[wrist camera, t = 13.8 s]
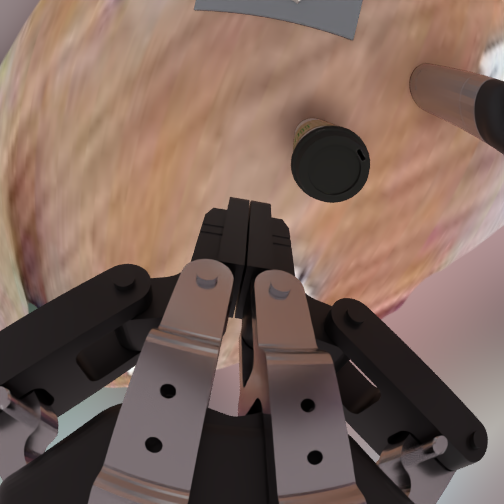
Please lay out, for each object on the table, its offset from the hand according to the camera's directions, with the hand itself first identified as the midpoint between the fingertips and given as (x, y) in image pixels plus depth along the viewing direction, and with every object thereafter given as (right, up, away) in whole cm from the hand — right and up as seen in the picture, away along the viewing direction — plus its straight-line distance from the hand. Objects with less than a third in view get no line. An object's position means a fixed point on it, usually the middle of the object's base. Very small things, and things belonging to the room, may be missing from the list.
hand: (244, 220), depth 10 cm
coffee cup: (+10, +18, +31) cm, 37 cm away
